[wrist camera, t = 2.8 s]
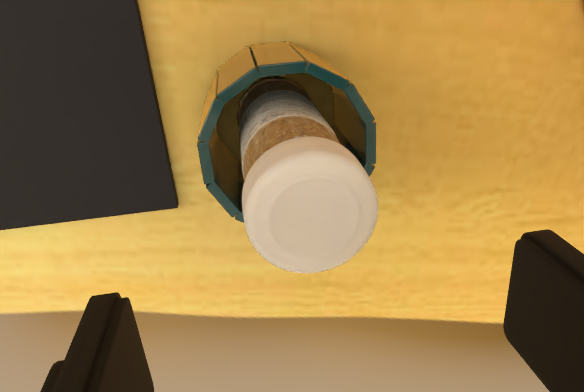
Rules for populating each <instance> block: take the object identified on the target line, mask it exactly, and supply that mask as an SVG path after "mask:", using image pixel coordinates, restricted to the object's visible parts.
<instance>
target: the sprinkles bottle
mask: <svg viewBox="0 0 584 392" xmlns="http://www.w3.org/2000/svg"><path fill="white" fill-rule="evenodd" d="M237 120H238V126H239V137H240V151H241V161H242V172H243V177H244V181H245V182H244V185H243V190H242V210H243V218H244V223H245V229H246V232H247V235H248V238H249V240H250V242H251V244H252V245H253V247H254V248H255V250H256V251H257V252H258V253H259V254H260V255H261V256H262V257H263V258H264V259H265V260H267V261H268V262H269V263H271V264H273V265H274V266H276V267H279V268H281V269H284V270H287V271H290V272H296V273H318V272H323V271H327V270H330V269H333V268H335V267H337V266H340V265H342V264H343V263H345V262H347V261H348V260H350V259H351V258H352V257H353V256H355V255H356V254H357V253H358V252H359V251H360V250H361V249H362V248H363V247H364V245H365V244H366V243H367V241H368V239H369V238H370V236H371V234H372V232H373V230H374V228H375V225H376V221H377V216H378V198H377V194H376V190H375V187H374V185H373V182H372V180H371V179H370V177H369V176H368V174H367V172H366V171H365V169H364V168H363V167H362V165H361V164H360V162H359V161H358V160H357V158H356V157H355V156H354V155H353V154H352V153H351V152H350V151H349V150H348V149H346V148H345V147H344V146H342V145H341V144H340V143H339V141H338V139H337V137H336V135H335V133H334V131H333V130H332V128H331V127H330V126H329V124H328V123H327V122H326V120H325V119H324V117H323V116H322V115H321V113H320V112H319V111H318V109H317V108H316V106H315V105H314V104H313V103H312V101H311V99H310V97H309V96H308V94H307V93H306V91H305V90H304V89H303V88H302V87H300V86H299V85H298V84H297V83H296V82H293V81H290V80H288V79H285V78H279V77H274V78H266V79H264V80H261V81H259V82H257V83H255V84H254V85H252V86H251V87H250V88H249V89H248V90H247V91H246V92H245V94H244V95H243V96H242V98H241V102H240V103H239V107H238V112H237Z"/></svg>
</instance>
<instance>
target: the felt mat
mask: <svg viewBox="0 0 584 392" xmlns="http://www.w3.org/2000/svg"><path fill="white" fill-rule="evenodd" d="M173 208H178V199H177V194H176V189H175V184H174V179H173V174H172V169H171V164H170V160H169V155H168V150H167V145H166V140H165V135H164V130H163V125H162V120H161V115H160V110H159V105H158V101H157V96H156V91H155V86H154V81H153V76H152V71H151V66H150V61H149V56H148V51H147V47H146V42H145V37H144V32H143V27H142V22H141V17H140V12H139V7H138V2H137V0H0V230H5V229H13V228H21V227H29V226H37V225H45V224H53V223H61V222H69V221H77V220H85V219H93V218H101V217H109V216H117V215H125V214H133V213H141V212H149V211H157V210H165V209H173Z"/></svg>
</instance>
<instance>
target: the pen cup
mask: <svg viewBox="0 0 584 392" xmlns="http://www.w3.org/2000/svg"><path fill="white" fill-rule="evenodd" d="M298 73H307V74H309V75H311V76H313V77H315V78H317V79H319V80H322V81H324V82H326V83H328V84H329V86H330V87H331V89H332V91H333V95H334V121H335V123H334V125H333V127H332V130H333V131H334V133H335V135H336V137H337V139H338V141H339V143H340V144H341V145H342V146H344V147H345V148H346V149H348V150H349V151H350V152H351V153H352V154H353V155H354V156H355V157H356V158H357V160H358V161H359V162H360V164H361V165H362V167H363V168H364V169H365V171H366V172H367V174H368V176H369V177H370V175H371V173H372V171H373V169H374V168H375V166H374V165H373V164H375V163H376V123H375V122H374V121H373V120H375V119H374V117H373V115H372V113H371V112H370V110H369V109H368V107H367V105H366V104H365V102H364V101H363V99H362V97H361V96H360V94H359V93H358V91H357V89H356V88H355V86H354V85H353V83H351V82H350V81H349V80H348V79H347V78H346V77H344V76H343V75H342V74H341V73H339V72H338V71H337V70H336V69H334V68H333V67H332V66H331V65H330V64H328V63H327V62H326V61H325V60H323V59H322V58H321V57H319V56H317V55H315V54H313V53H311V52H309V51H307V50H305V49H303V48H301V47H299V46H297V45H295V44H293V43H291V42H289V43H287V42H286V41H284V42H274V43H263V44H253V45H251V49H250V48H249V47H248V46H247V47H246V48H244V49H243V50H242V51H240V52H239V53H238V54H236V55H235V56H234V57H232V58H231V59H230V60H228V61H227V62H226V63H224V64H223V65H222V66H220V67H219V70H217V72H216V74H215V77H214V79H213V82H212V84H211V87H210V89H209V91H208V94H207V96H206V99H205V102H204V107H203V113H202V118H201V124H200V129H199V135H198V142H197V146H198V151H199V157H200V163H201V169H202V174H203V180H204V184H206V188H207V189H208V191H209V192H210V193H211V194H212V195H213V196H214V197H215V198H216V200H217V201H218V202H219V203H220V204H221V205H222V206H223V208H224V209H225V210H226V211H227V212H228V213H229V214H230V216H231V217H234V216H235V219H236V220H238V221H241V222H244V218H243V210H242V190H243V185H244V182H245V181H244V177H243V172H242V162H240V161H238V160H237V159H236V158H235V157H234V156H233V155H232V153H231V152H230V151H229V150H228V148H227V147H226V146H225V145H224V143H223V142H222V141H221V140H220V139H219V137H218V135H217V129H216V124H217V122H218V119H219V117H220V114H221V112H222V110H223V107H224V105H225V103H227V102H228V101H229V100H231V99H232V98H233V97H235V96H236V95H237V94H239V93H240V92H242V91H243V90H244V89H246V88H247V87H248V86H250V85H251V84H252V83H254V82H255V81H256V80H258V79H259V78H261V77H269V76H279V75H288V74H298Z"/></svg>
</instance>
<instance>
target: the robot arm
mask: <svg viewBox="0 0 584 392" xmlns="http://www.w3.org/2000/svg"><path fill="white" fill-rule="evenodd" d="M504 332H505V335H506V338H507V339H508V341H509V342H510V343H511V345H512V346H513V347H514V348H515V349H516V351H517V352H518V353H519V354H520V356H521V357H522V358H523V359H524V360H525V362H526V363H527V364H528V365H529V367H530V368H531V369H532V370H533V372H534V373H535V374H536V375H537V377H538V378H539V379H540V380H541V381H542V383H543V384H544V385H545V386H546V388H547V389H548V390H549V391H550V392H584V254H583V253H581V252H580V251H579V250H577V249H576V248H575V247H573V246H572V245H571V244H569V243H568V242H566V241H565V240H564V239H562V238H561V237H560V236H558V235H557V234H556V233H554V232H553V231H551V230H540V231H533V232H527V233H524V234H523V235H522V237H521V239H519V240H517V242H516V244H515V249H514V256H513V263H512V270H511V277H510V284H509V290H508V297H507V304H506V311H505V318H504ZM41 392H154V387H153V381H152V378H151V374H150V371H149V367H148V364H147V360H146V356H145V353H144V349H143V346H142V342H141V338H140V335H139V331H138V328H137V324H136V321H135V317H134V313H133V310H132V306H131V303H130V300H129V298H127V297H126V298H121V296H120V294H119V293H117V292H116V293H109V294H103V295H96V296H92V297H91V298H90V299H89V302H88V304H87V306H86V309H85V311H84V314H83V316H82V319H81V321H80V324H79V326H78V328H77V331H76V333H75V336H74V338H73V340H72V343H71V345H70V348H69V350H68V353H67V355H66V357H65V360H63V361H57V362H56V363H54V364H53V366H52V367H51V369H50V371H49V374H48V376H47V378H46V380H45V383H44V385H43V387H42V390H41Z"/></svg>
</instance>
